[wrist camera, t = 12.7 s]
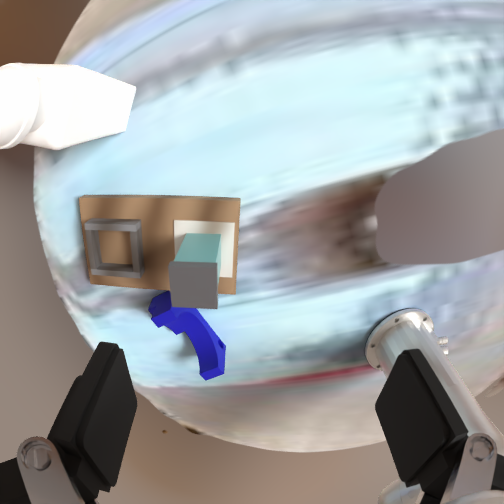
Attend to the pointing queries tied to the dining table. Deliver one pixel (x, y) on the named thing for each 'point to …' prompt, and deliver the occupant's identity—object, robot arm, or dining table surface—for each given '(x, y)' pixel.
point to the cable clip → (191, 333)
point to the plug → (196, 272)
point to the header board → (154, 236)
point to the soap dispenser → (60, 105)
